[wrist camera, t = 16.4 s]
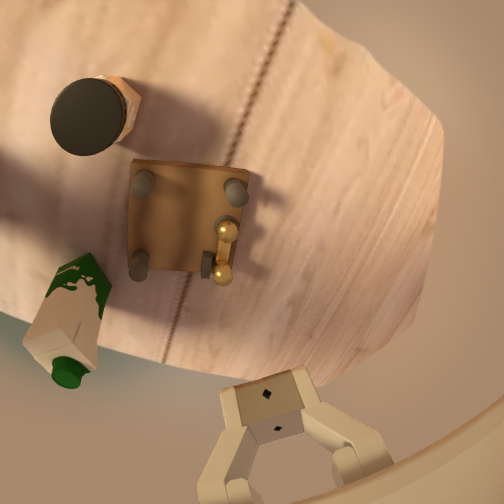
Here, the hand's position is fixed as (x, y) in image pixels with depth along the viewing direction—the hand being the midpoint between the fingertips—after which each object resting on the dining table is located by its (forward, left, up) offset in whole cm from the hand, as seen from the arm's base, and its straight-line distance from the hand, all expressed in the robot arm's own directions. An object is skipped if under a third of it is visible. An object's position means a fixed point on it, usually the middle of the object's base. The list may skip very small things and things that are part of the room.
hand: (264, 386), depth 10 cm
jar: (-13, +5, -37) cm, 40 cm away
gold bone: (+5, -13, -34) cm, 37 cm away
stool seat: (-1, -10, -37) cm, 38 cm away
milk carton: (-17, -22, -37) cm, 47 cm away
